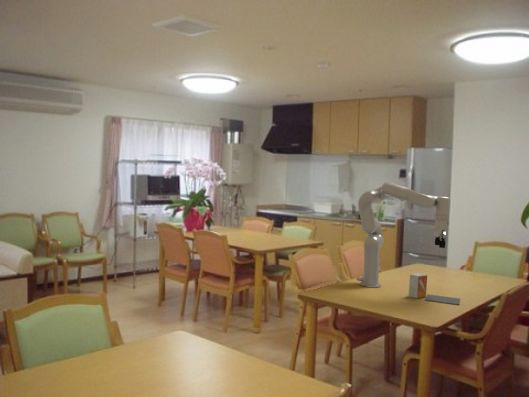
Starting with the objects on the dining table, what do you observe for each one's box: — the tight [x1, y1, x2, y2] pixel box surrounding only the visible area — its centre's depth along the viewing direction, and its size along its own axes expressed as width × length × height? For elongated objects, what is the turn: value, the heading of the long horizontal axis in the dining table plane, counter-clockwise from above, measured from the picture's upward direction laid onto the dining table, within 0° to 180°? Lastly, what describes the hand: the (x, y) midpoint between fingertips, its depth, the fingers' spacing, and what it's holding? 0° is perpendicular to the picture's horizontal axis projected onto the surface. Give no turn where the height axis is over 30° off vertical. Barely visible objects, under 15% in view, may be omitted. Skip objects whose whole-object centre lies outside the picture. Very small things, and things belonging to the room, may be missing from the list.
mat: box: [424, 293, 461, 306], centre depth 281 cm, size 18×14×1 cm
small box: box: [408, 272, 428, 299], centre depth 286 cm, size 8×6×13 cm
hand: (439, 246), depth 290 cm, fingers open, 9 cm apart
